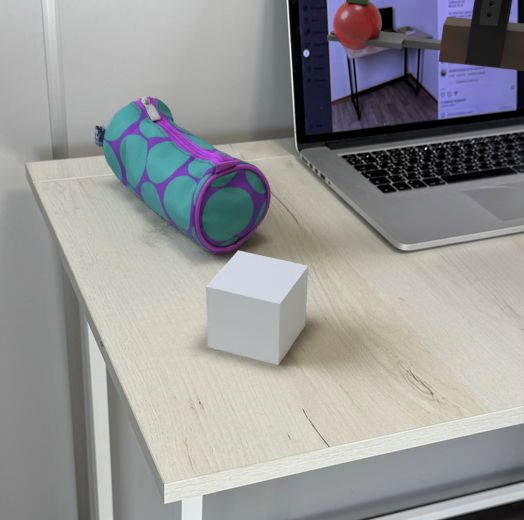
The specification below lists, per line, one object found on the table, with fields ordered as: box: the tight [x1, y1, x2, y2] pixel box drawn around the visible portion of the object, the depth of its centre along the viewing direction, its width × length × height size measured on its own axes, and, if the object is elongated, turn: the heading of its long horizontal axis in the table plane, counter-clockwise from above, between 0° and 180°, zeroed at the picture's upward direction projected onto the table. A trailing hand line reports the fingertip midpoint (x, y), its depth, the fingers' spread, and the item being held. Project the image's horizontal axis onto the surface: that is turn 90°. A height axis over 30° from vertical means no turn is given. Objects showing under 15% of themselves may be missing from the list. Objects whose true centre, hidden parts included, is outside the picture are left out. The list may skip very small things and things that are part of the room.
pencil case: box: [94, 95, 272, 255], centre depth 86 cm, size 21×9×10 cm, turn 33°
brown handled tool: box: [326, 0, 524, 72], centre depth 71 cm, size 20×4×4 cm, turn 73°
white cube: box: [205, 250, 309, 366], centre depth 69 cm, size 6×6×6 cm
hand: (484, 57), depth 71 cm, fingers closed on brown handled tool, 2 cm apart
